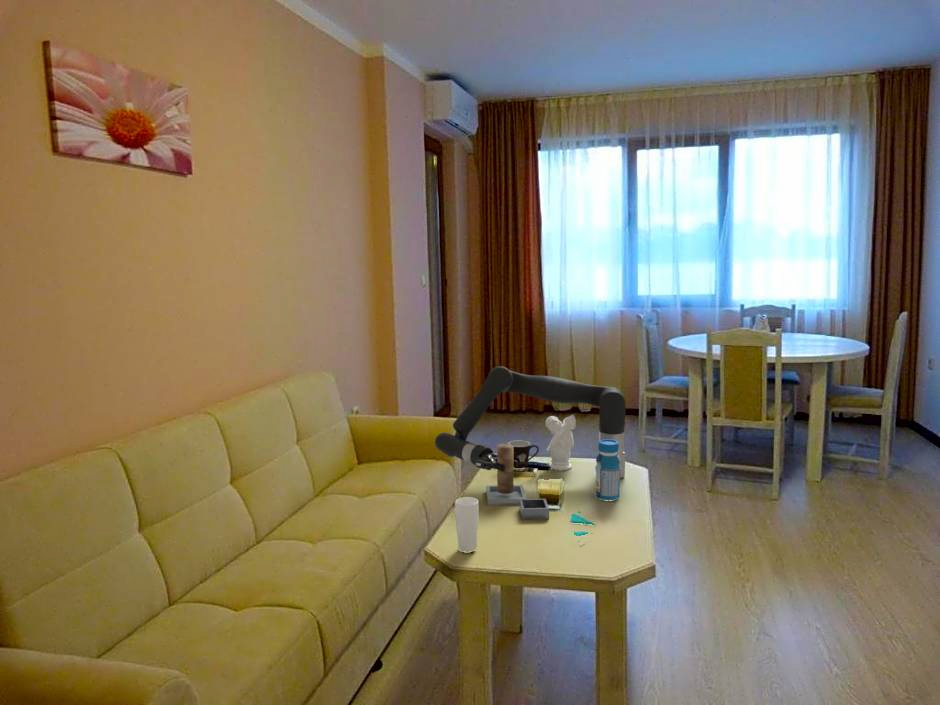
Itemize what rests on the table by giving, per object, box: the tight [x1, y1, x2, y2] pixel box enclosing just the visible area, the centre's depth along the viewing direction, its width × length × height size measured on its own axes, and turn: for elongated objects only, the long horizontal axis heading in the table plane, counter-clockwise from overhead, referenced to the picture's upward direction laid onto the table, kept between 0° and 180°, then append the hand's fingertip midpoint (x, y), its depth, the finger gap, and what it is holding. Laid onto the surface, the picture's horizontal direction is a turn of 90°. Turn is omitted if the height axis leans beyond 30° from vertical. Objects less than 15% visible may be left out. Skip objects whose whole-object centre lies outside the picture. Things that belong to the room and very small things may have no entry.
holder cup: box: [518, 498, 550, 521], centre depth 226 cm, size 9×9×4 cm
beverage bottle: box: [595, 439, 621, 502], centre depth 239 cm, size 8×8×20 cm
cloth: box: [569, 510, 596, 536], centre depth 215 cm, size 26×14×2 cm, turn 161°
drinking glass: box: [454, 496, 480, 552], centre depth 201 cm, size 7×7×15 cm
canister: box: [496, 443, 514, 494], centre depth 239 cm, size 6×6×16 cm
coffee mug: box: [507, 439, 540, 468], centre depth 271 cm, size 12×9×10 cm
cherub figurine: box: [544, 414, 577, 472], centre depth 272 cm, size 12×12×22 cm
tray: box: [485, 484, 528, 506], centre depth 240 cm, size 13×13×2 cm
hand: (510, 466), depth 237 cm, fingers closed on canister, 5 cm apart
